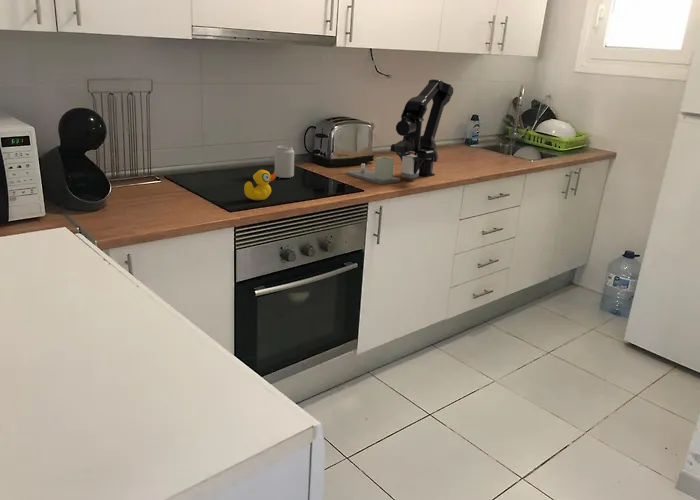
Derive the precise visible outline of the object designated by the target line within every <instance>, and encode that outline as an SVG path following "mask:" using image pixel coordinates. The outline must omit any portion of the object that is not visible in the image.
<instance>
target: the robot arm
mask: <svg viewBox="0 0 700 500" xmlns="http://www.w3.org/2000/svg"><path fill="white" fill-rule="evenodd" d="M453 95H454V87H453V86H452V84H449V83H447V82H443V80H441V79H435V78H434V79H429V81H428V83H427V85H425V87H424V88H423V89H422V91H420V92H419V94H418V95H417V96H414V97H413V96H412V97H411V98H410V99H408V101H407V102H406V103H405V105H404V108H403V110H402V113H401V115H400V118H401V119H400V120H399V121H398V122H397V124H396V126H395V131H396V134H398V135H399V136H401V137H402V140H400V141H398V142H396V143H393V144H392V143H391V145H390V152H393V153H395V154H396V155H397V156H398V157H399V158H400V161H401V162H402V157H403V156H407V155H413V156H416V157H413V159H414V174H416V173H417V171H418V170H419V176H422V177H430V176H431V177H432V176H435V175H436V174H435V173H433V169H434V163H436V162H438V159H439V154H438V151H437V142H436V140H435V138H436V136H437V135H436V134H437V131H438V128H439V125H440V121H441V118H442V114H443V111H444V108H445V106H446V105H447V104H448V103H449V102H450V101H451V98H452V96H453ZM431 100H432V105H431V108H430V111H429V115H428V118H427V121H426V126H425V129H424V131H423V135H422V125H423V121H425V119H424V117H425V114H426V112H427V111H428V104H429V103H430V102H431Z"/></svg>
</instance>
